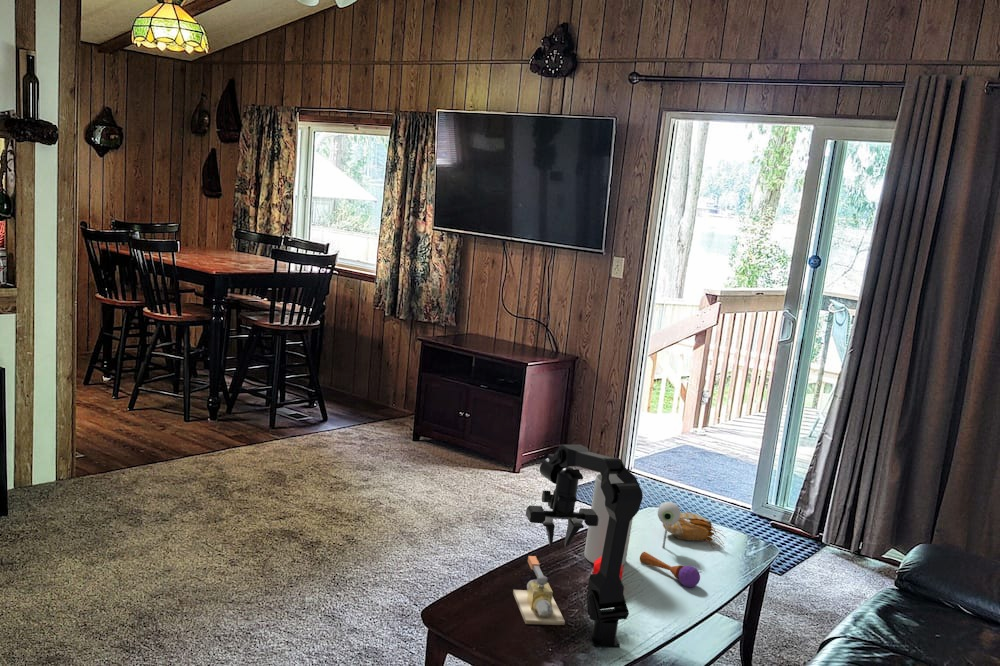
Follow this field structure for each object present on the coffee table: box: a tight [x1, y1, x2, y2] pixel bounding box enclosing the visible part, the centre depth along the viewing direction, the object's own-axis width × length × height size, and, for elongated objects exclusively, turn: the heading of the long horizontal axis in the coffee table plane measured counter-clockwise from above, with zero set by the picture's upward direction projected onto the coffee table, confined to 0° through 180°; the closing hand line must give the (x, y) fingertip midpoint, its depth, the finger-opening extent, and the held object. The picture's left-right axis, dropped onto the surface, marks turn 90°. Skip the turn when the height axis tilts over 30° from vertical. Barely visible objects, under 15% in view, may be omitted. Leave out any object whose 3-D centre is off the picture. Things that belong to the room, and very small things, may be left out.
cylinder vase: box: [583, 472, 634, 566], centre depth 256 cm, size 12×12×25 cm
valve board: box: [512, 589, 566, 626], centre depth 221 cm, size 16×10×1 cm, turn 10°
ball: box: [592, 557, 624, 580], centre depth 240 cm, size 8×8×8 cm
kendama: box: [639, 551, 701, 588], centre depth 252 cm, size 6×6×20 cm
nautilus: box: [662, 512, 727, 550], centre depth 281 cm, size 8×22×15 cm
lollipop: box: [657, 501, 682, 549], centre depth 272 cm, size 7×7×15 cm
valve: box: [526, 579, 554, 619], centre depth 221 cm, size 14×5×6 cm, turn 10°
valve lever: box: [527, 555, 548, 585], centre depth 225 cm, size 14×3×2 cm, turn 10°
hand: (557, 545), depth 230 cm, fingers open, 4 cm apart
